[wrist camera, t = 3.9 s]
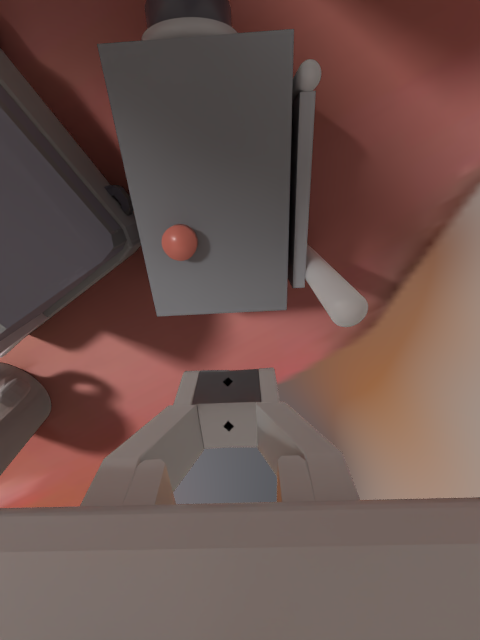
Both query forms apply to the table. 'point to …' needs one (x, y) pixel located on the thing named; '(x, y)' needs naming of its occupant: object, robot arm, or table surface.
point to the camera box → (206, 155)
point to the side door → (302, 258)
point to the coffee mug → (19, 411)
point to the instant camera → (50, 214)
